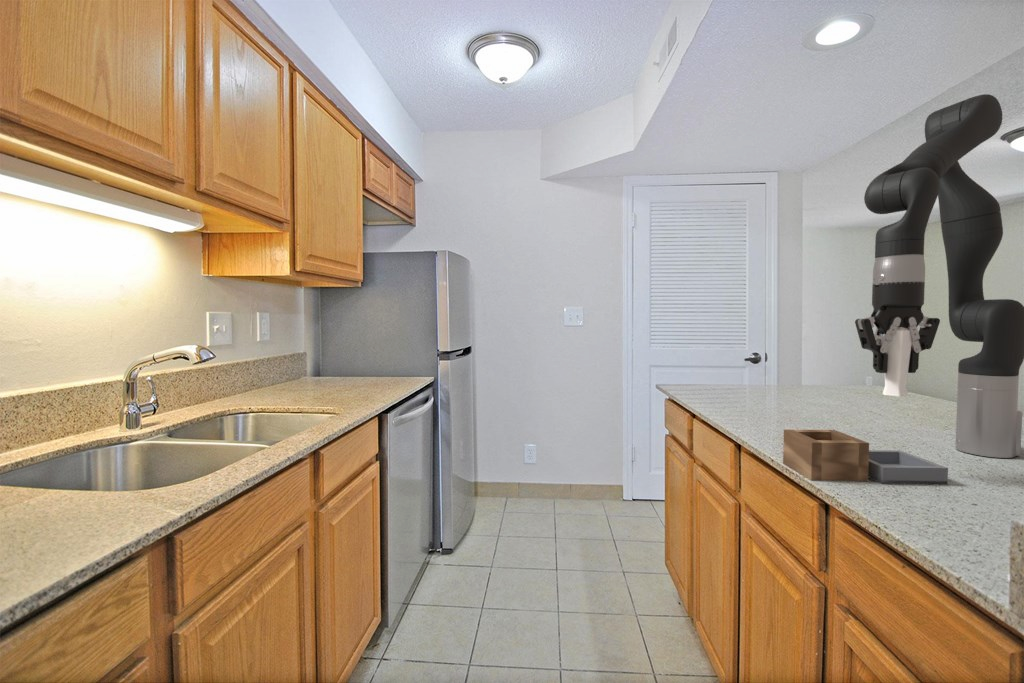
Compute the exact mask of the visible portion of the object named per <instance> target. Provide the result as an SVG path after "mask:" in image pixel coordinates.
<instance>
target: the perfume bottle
mask: <svg viewBox="0 0 1024 683" xmlns="http://www.w3.org/2000/svg"><path fill="white" fill-rule="evenodd" d="M885 335H886V334H884V335H883V336H885ZM911 344H912V342H911V335H910V330H909V329H907V328H903V327H899V328H897V330H896V333H895V336H894V338H893V341H892V342H890V344H889V346H888V349H887V352H886V354H888V367H887V373H884V388H883V391H882V395H884V396H892V397H909V394H908V389H907V383H908V375H909V373H908V368H909V360H910V352H911Z"/></svg>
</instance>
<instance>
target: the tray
mask: <svg viewBox="0 0 1024 683" xmlns="http://www.w3.org/2000/svg"><path fill="white" fill-rule="evenodd" d="M948 477H949V468H948V467H946V466H944V465H940V464H938V463H935V462H933V461H930V460H927V459H925V458H922V457H919V456H917V455H913V454H912V453H910V452H909V453H908V452H906V451H904V450H896V449H894V450H893V449H892V450H890V449H888V450H886V449H885V450H883V449H882V450H879V449H877V450H875V449H874V450H873V449H869V466H868V479H869V478H870V479H872V480H873V481H876V482H878V483H880V484H883V485H934V484H938V485H939V486H941V485H942V486H944V485H948V480H949V478H948Z"/></svg>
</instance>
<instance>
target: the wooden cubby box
mask: <svg viewBox="0 0 1024 683" xmlns="http://www.w3.org/2000/svg"><path fill="white" fill-rule="evenodd" d="M782 443H783V448H782V449H783V451H782V463H783V465H785V466H787V467H789V468H790V469H792V470H794V471H795V472H796V473H799V474H800V475H802V476H804V477H805V478H806V479H808V480H810V481H837V482H838V481H843V482H845V481H847V482H853V481H854V482H855V481H856V482H858V481H859V482H869V477H868V466H869V450H870V442H867V441H866V440H863V439H860V438H857V437H855V436H852V435H849V434H847V433H843V432H841V431H840V430H839V431H838V430H836V429H783V442H782Z"/></svg>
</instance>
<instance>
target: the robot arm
mask: <svg viewBox="0 0 1024 683" xmlns="http://www.w3.org/2000/svg"><path fill="white" fill-rule="evenodd" d="M1002 110H1003V109H1002V106H1001V104H1000V102H999V100H998V99H997V97H996V96H994V95H992V94H988V93H986V94H985V93H983V94H979V95H975V96H971V97H968V98H966V99H964V100H961V101H958V102H956V103H954V104H951V105H948V106H945V107H943V108H940V109H937V110H935V111H932V112H931V113H930V114H928V115H927V116H926V119H925V122H924V138H925V142H924V143H922V144H920V145H919V146H918V147H917V148H915V149H914V150H913V151H912V152H910V154H909V155H907V157H906V158H905V159H903V161H902V162H900V163H899V164H896V165H895V166H892V167H891V168H889V169H887V170H886V171H883V172H882V173H880V174H879V175H877V176H876V177H874V178H873V179H872V180H871V182H869V184H868V186H867V187H866V189H865V192H864V197H863V198H864V199H863V200H864V201H863V202H864V204H865V207H866V208H867V209H868V210H869V211H870V212H871V213H873V214H877V215H887V214H888V215H889V214H893V213H899V212H904V211H905V212H904V214H903V216H902V217H901V218H900V219H899V220H897V221H896V222H894V223H893V222H892V223H891V224H888V225H885V226H883V227H881V228H879V229H878V230H877V231H876V233H875V242H874V243H875V245H874V246H875V247H874V262H873V268H872V287H871V288H872V293H871V306H872V307H873V310H872V313H871V314H870V316H868V317H864V318H856V319H855V321H854V324H855V327H856V330H857V331H856V332H857V335H858V338H859V342H860V346H861V348H862V349H863V350H867V351H870V352H872V355H873V356H872V368H873V370H875V372H876V373H878V374H885V373H887V367H888V354H886V352H887V349H888V346H889V344H890V342H892V341H893V338H894V336H895V333H896V330H897V328H899V327H903V328H907V329H909V330H910V335H911V342H912V344H911V352H910V360H909V368H908V374H915V373H917V371H918V369H919V363H920V362H919V361H920V360H919V359H920V353H921V352H922V351H926V350H931V349H932V346H933V343H934V340H935V337H936V335H937V332H938V328H939V326H940V324H941V319H940V318H939V317H929V316H926V315H925V316H924V313H923V310H922V307H923V306H924V304H925V288H926V287H925V286H926V285H925V284H926V283H925V282H926V279H925V278H926V263H925V255H924V254H925V234H926V230H927V226H928V222H929V220H930V216H931V213H932V211H933V208H934V206H935V204H936V201H937V200H938V207H939V217H940V218H939V219H940V227H941V234H942V235H941V236H942V241H943V246H944V251H945V258H946V269H947V270H946V271H947V280H948V281H947V282H948V321H949V326H950V330H951V332H952V333H953V334H954V335H953V336H954V337H956V338H958V339H959V340H961V341H964V342H975V343H982V347H981V350H980V351H979V352H978V353H977V354H975V355H973V356H970V357H965V358H962V359H960V360H959V362H958V365H957V366H958V367H957V394H956V395H957V396H956V397H957V398H956V415H955V416H956V418H955V419H956V420H955V423H956V424H955V445H954V446H955V449H956V450H957V451H960V452H963V453H966V454H971V455H976V456H982V457H989V458H998V459H999V458H1000V459H1001V458H1003V459H1011V458H1015V457H1020V456H1021V450H1022V429H1023V428H1022V427H1023V412H1022V411H1021V410H1018V404H1019V403H1018V402H1019V381H1020V380H1019V379H1020V378H1019V376H1020V369H1021V366H1022V364H1023V362H1024V305H1023V304H1022V303H1021V302H1019V301H1018V300H1015V299H1009V298H1006V299H1005V298H1002V299H1001V298H999V299H998V298H997V299H996V298H995V299H985V296H984V288H983V286H984V282H983V281H984V276H985V272H986V270H987V268H988V265H989V264H990V262H991V260H992V259H993V257H994V256H995V254H996V252H997V250H998V248H999V247H1000V244H1001V242H1002V240H1003V239H1002V238H1003V235H1004V226H1003V219H1002V212H1001V206H1000V203H999V201H998V200H997V199H996V198H995V196H994V195H993V194H992V193H990V192H989V191H987V189H985V188H984V187H983V186H982V185H980V184H979V183H977V182H976V181H975V180H973V179H972V178H971V177H970V176H969V175H968V174H967V173H966V172H965V171H964V170H963V168H962V166H961V164H960V162H959V160H961V159H962V158H963V157H964V156H966V155H967V154H968V153H970V152H971V151H972V150H974V149H975V148H977V147H978V146H980V145H982V143H984V142H986V141H988V140H989V139H991V138H993V136H995V135H996V134H997V133H998V132H999V130H1000V128H1001V126H1002V123H1003V111H1002ZM937 198H938V199H937ZM874 327H876V329H875V332H874V329H873V328H874ZM918 327H919V330H918ZM884 334H886V335H885V336H883V335H884Z"/></svg>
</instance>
